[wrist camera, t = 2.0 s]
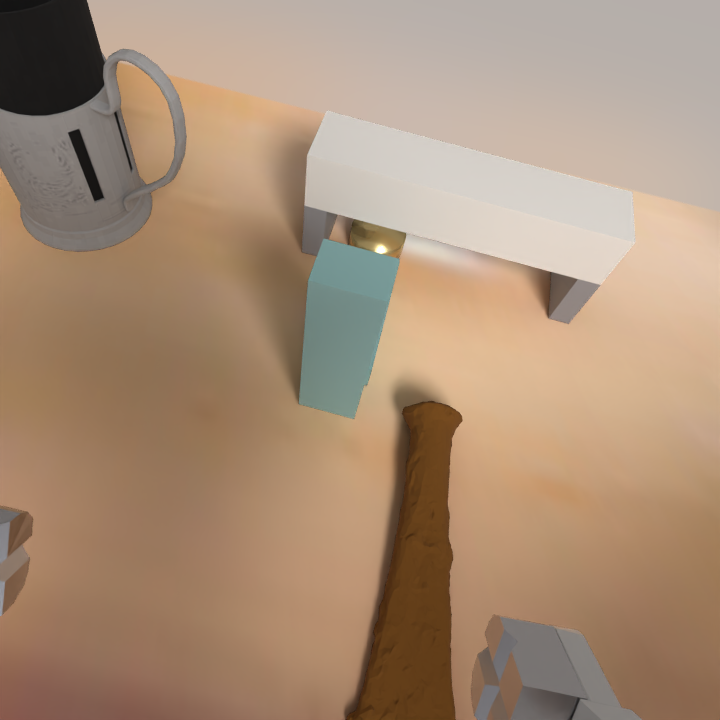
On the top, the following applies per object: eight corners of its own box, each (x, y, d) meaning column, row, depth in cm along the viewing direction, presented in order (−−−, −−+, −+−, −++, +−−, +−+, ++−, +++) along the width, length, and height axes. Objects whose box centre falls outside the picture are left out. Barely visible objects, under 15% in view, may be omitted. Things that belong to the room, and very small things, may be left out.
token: (405, 235, 41) (410, 218, 40) (395, 274, 39) (400, 257, 38) (355, 222, 42) (358, 204, 40) (343, 259, 39) (345, 242, 38)
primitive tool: (456, 806, 24) (482, 824, 21) (336, 796, 24) (345, 813, 21) (453, 421, 34) (471, 396, 31) (369, 409, 34) (378, 383, 31)
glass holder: (79, 148, 41) (-10, -89, 29) (239, 222, 40) (221, 5, 27) (-9, 218, 37) (-161, -26, 24) (167, 304, 35) (104, 92, 22)
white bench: (570, 277, 41) (632, 192, 34) (568, 323, 39) (635, 242, 32) (318, 210, 41) (327, 110, 34) (301, 252, 39) (307, 154, 32)
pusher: (394, 279, 39) (435, 137, 29) (357, 420, 33) (393, 303, 23) (340, 265, 39) (363, 117, 29) (294, 402, 33) (302, 278, 23)
